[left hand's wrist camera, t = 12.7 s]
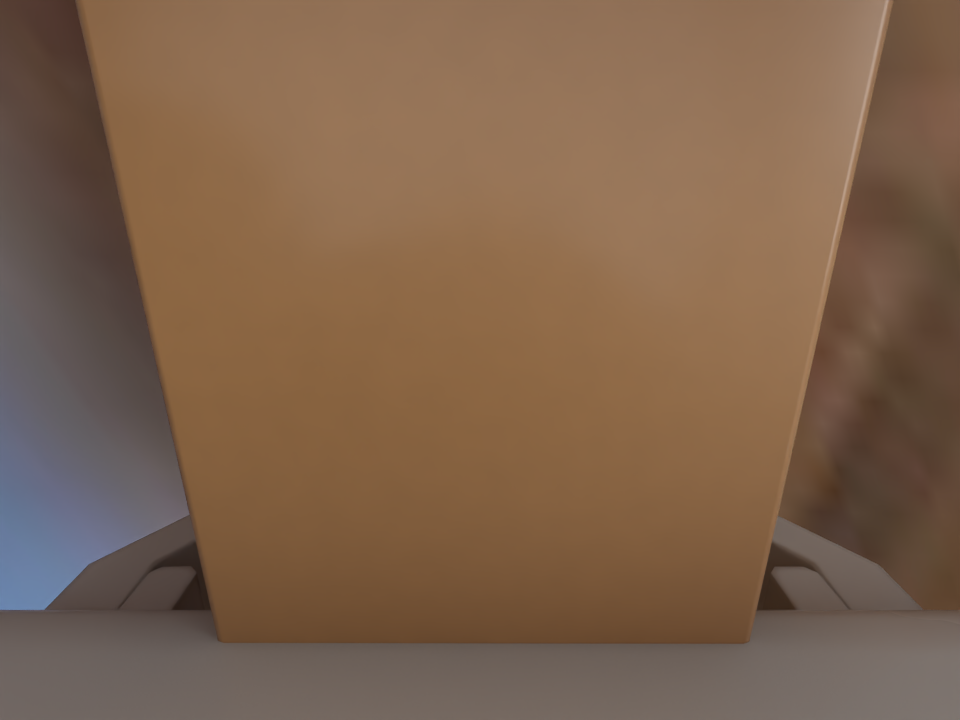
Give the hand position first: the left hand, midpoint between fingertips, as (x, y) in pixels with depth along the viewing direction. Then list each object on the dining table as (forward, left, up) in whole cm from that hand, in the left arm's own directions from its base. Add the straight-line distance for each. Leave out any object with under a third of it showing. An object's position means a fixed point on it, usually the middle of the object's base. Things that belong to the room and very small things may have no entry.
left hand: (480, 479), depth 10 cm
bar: (+7, +5, -3) cm, 9 cm away
